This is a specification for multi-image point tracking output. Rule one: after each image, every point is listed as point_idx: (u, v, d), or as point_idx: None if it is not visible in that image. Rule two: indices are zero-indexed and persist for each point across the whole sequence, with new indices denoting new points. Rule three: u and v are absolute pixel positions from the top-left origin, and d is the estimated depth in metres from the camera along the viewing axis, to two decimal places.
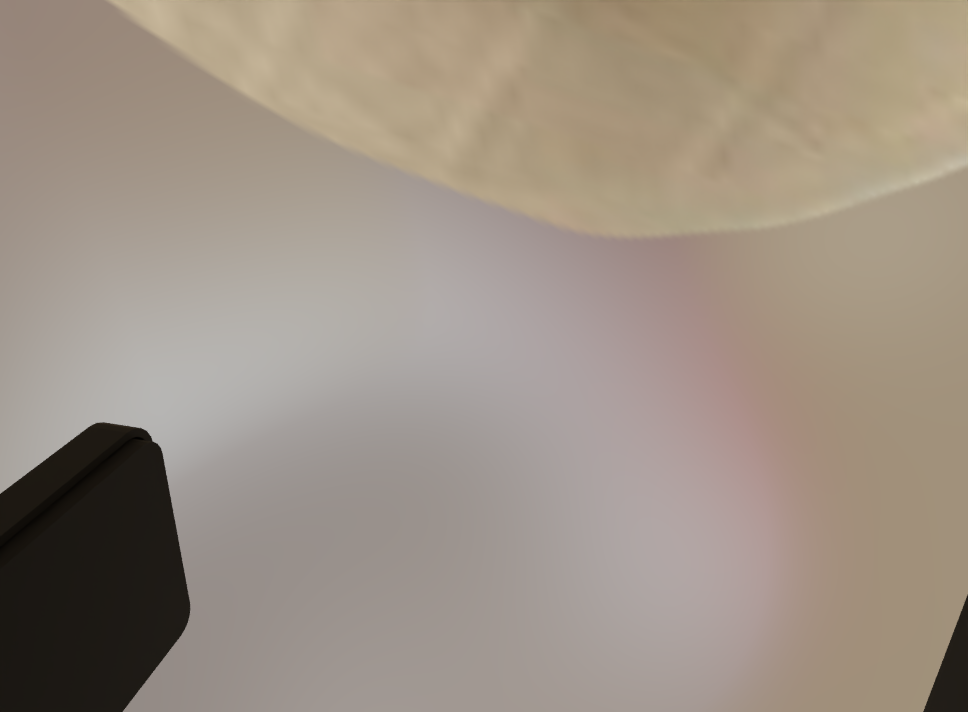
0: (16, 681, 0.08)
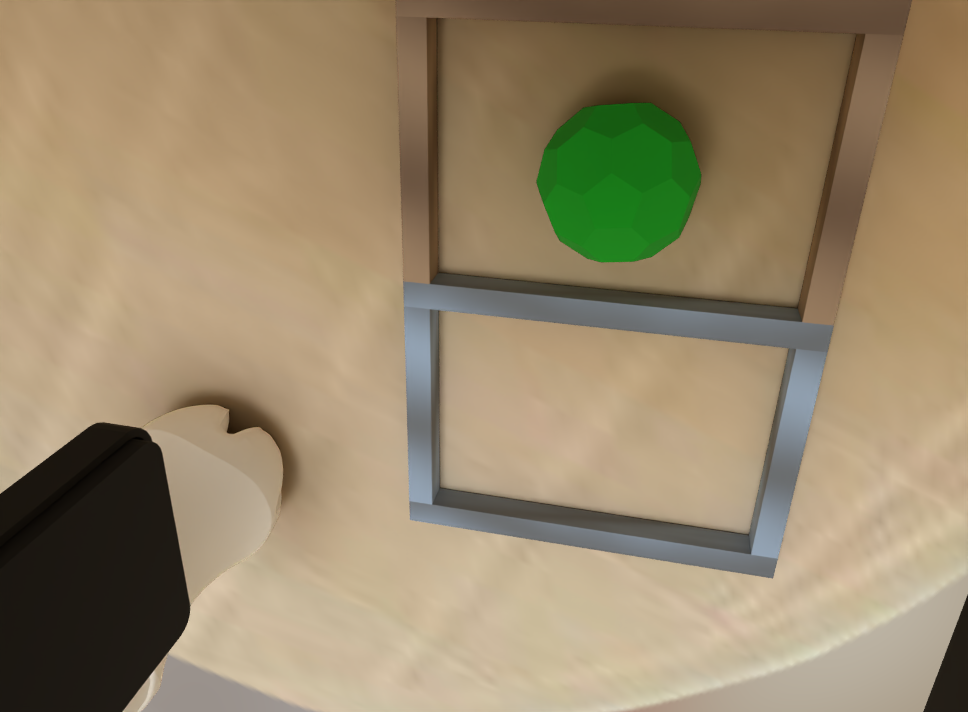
0: (16, 681, 0.08)
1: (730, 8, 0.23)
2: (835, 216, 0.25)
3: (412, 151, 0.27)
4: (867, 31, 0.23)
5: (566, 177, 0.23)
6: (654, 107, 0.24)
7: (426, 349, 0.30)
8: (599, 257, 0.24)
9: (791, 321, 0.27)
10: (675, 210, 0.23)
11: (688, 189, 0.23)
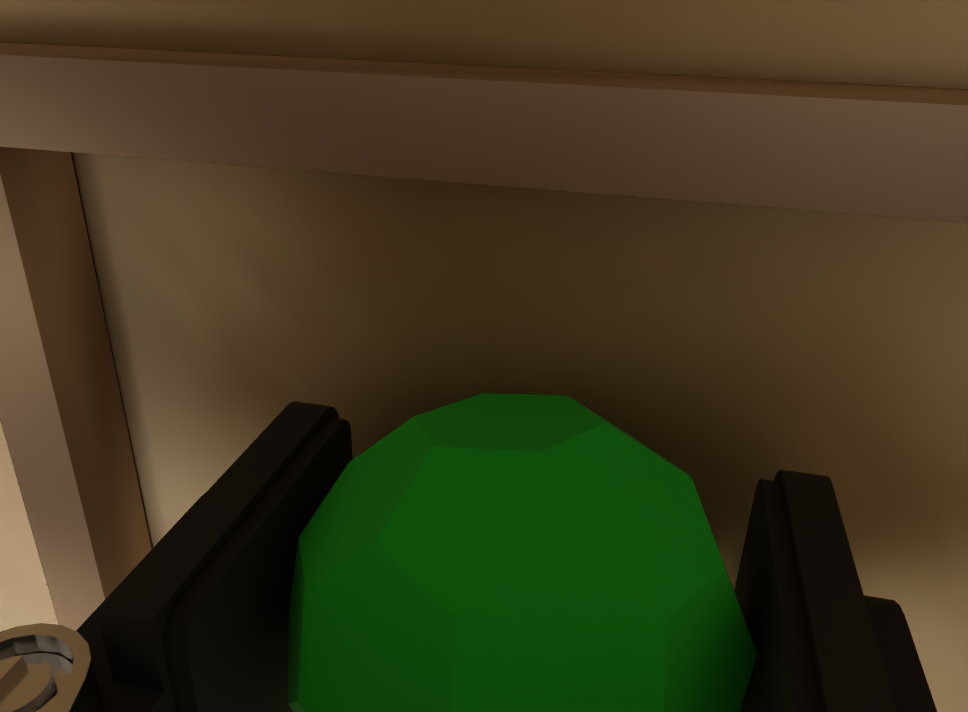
0: (259, 638, 0.08)
1: (857, 153, 0.07)
2: None
3: (35, 450, 0.11)
4: None
5: (323, 693, 0.07)
6: (615, 441, 0.08)
7: None
8: None
9: None
10: None
11: None
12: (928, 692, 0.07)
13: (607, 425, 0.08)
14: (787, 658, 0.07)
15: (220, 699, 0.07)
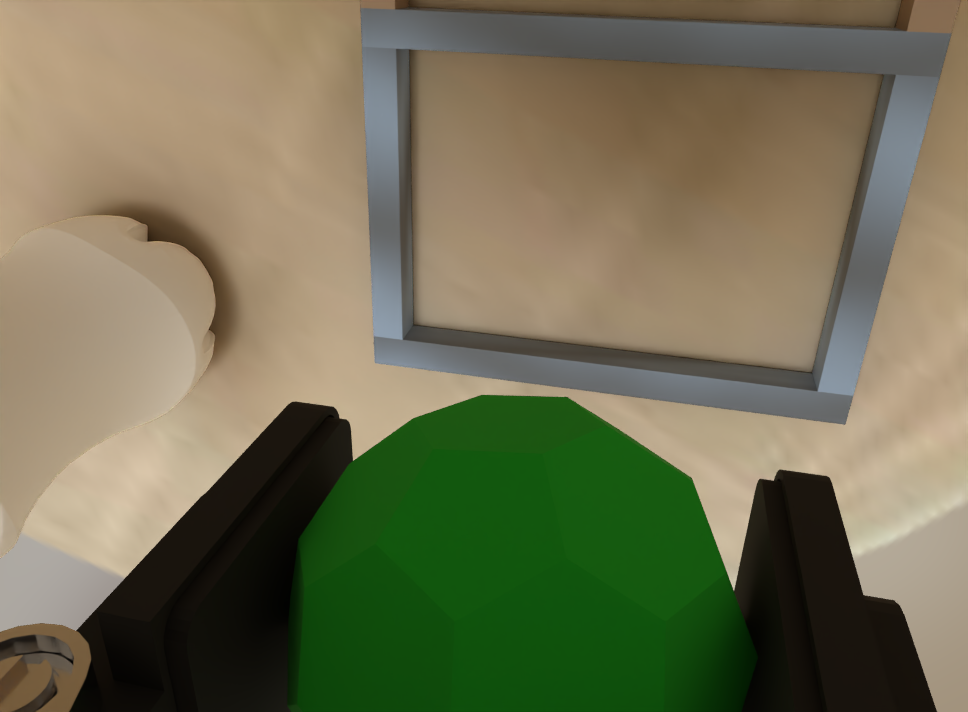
0: (259, 638, 0.08)
1: None
2: None
3: None
4: None
5: (323, 696, 0.07)
6: (615, 444, 0.08)
7: (392, 111, 0.23)
8: None
9: (891, 31, 0.19)
10: None
11: None
12: (928, 692, 0.07)
13: (607, 428, 0.08)
14: (787, 658, 0.07)
15: (220, 699, 0.07)
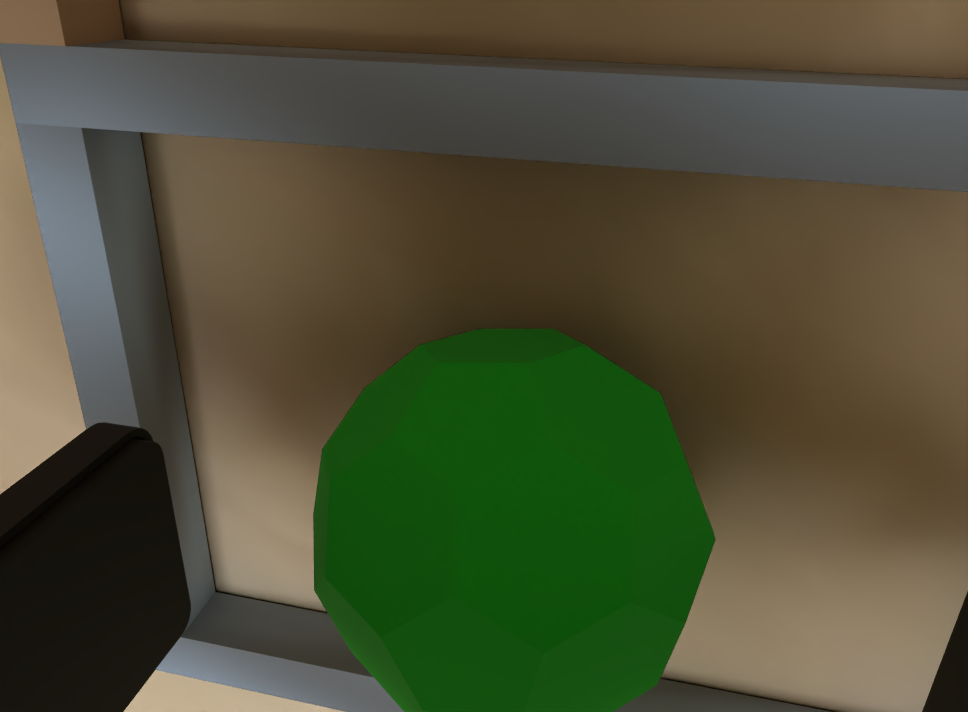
0: (18, 680, 0.08)
1: None
2: None
3: None
4: None
5: (346, 567, 0.08)
6: (593, 359, 0.09)
7: (96, 250, 0.11)
8: None
9: None
10: (643, 656, 0.09)
11: (681, 604, 0.08)
12: None
13: (586, 346, 0.09)
14: None
15: None
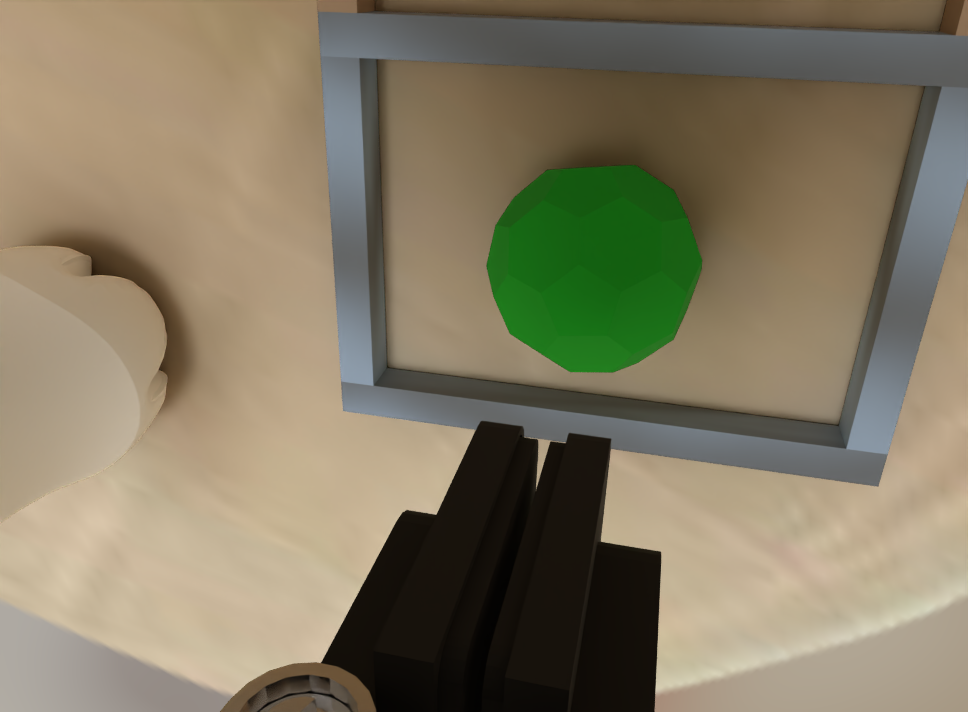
0: None
1: None
2: None
3: None
4: None
5: (521, 266, 0.17)
6: (639, 171, 0.18)
7: (356, 129, 0.20)
8: (567, 366, 0.18)
9: (937, 35, 0.16)
10: (667, 310, 0.17)
11: (685, 283, 0.17)
12: (654, 629, 0.08)
13: None
14: (506, 593, 0.07)
15: None
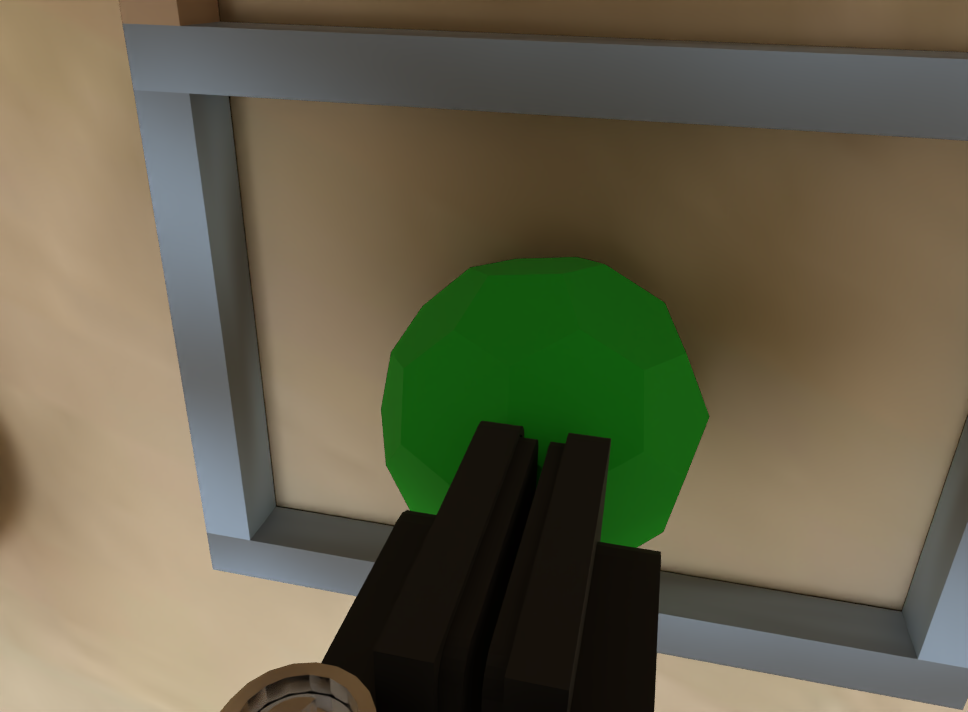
0: None
1: None
2: None
3: None
4: None
5: (419, 434, 0.11)
6: (611, 275, 0.11)
7: (195, 197, 0.13)
8: None
9: None
10: (653, 503, 0.11)
11: (682, 461, 0.11)
12: (654, 628, 0.08)
13: (605, 265, 0.12)
14: (506, 593, 0.07)
15: None
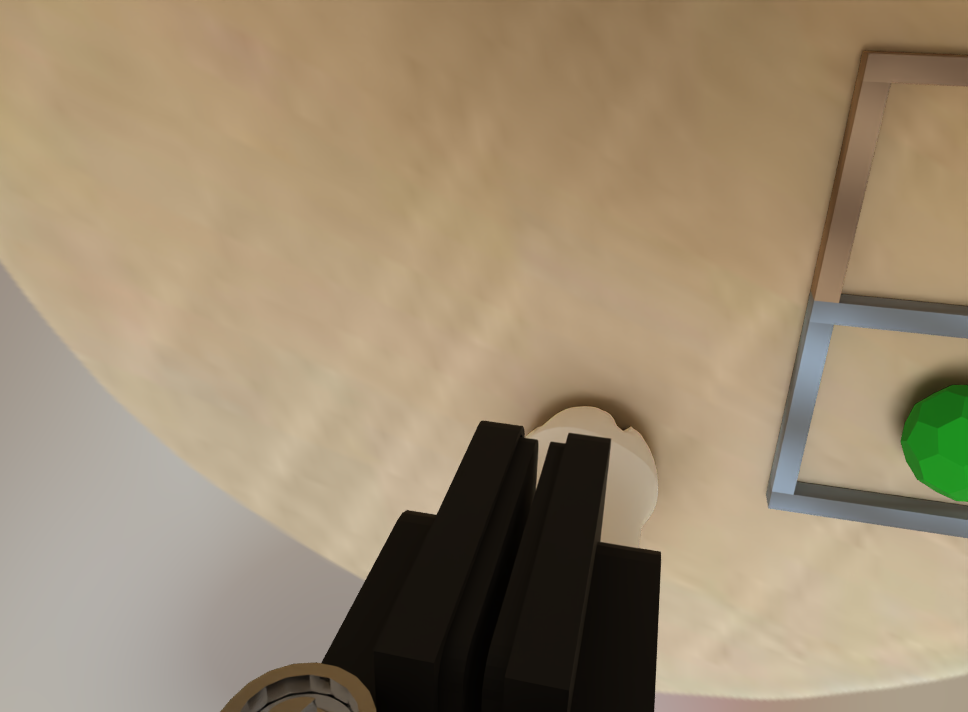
0: None
1: None
2: None
3: (850, 191, 0.32)
4: None
5: (947, 450, 0.32)
6: None
7: (821, 359, 0.35)
8: (957, 499, 0.34)
9: None
10: None
11: None
12: (654, 628, 0.08)
13: None
14: (506, 593, 0.07)
15: None
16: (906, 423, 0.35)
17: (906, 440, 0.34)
